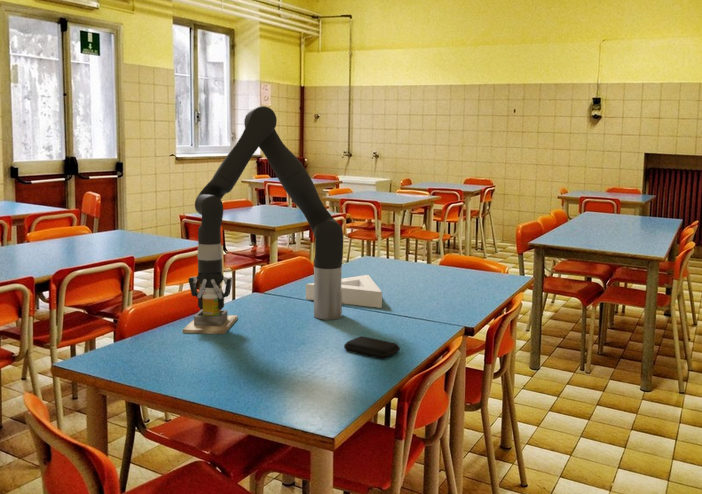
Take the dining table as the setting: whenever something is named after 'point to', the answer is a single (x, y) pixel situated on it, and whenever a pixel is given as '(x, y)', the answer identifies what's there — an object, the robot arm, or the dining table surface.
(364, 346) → the carrying case or bag
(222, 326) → the caddy
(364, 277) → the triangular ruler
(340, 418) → the dining table surface
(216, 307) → the supplement bottle
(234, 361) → the dining table surface
